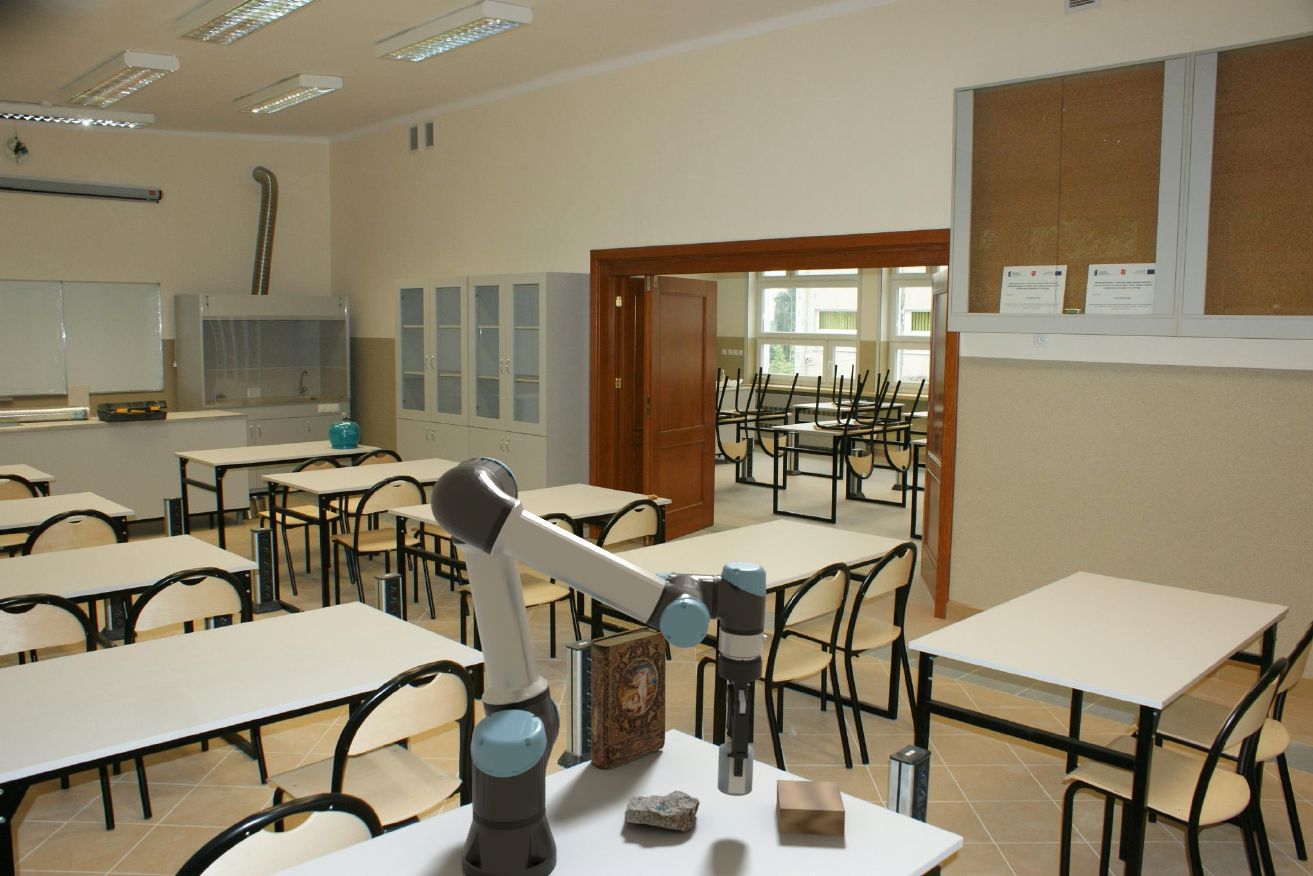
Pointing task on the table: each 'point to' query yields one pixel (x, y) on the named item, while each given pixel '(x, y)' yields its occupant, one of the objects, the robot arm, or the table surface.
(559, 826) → the table surface
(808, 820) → the walnut block
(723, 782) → the grey rounded cylinder
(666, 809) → the rock
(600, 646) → the book
